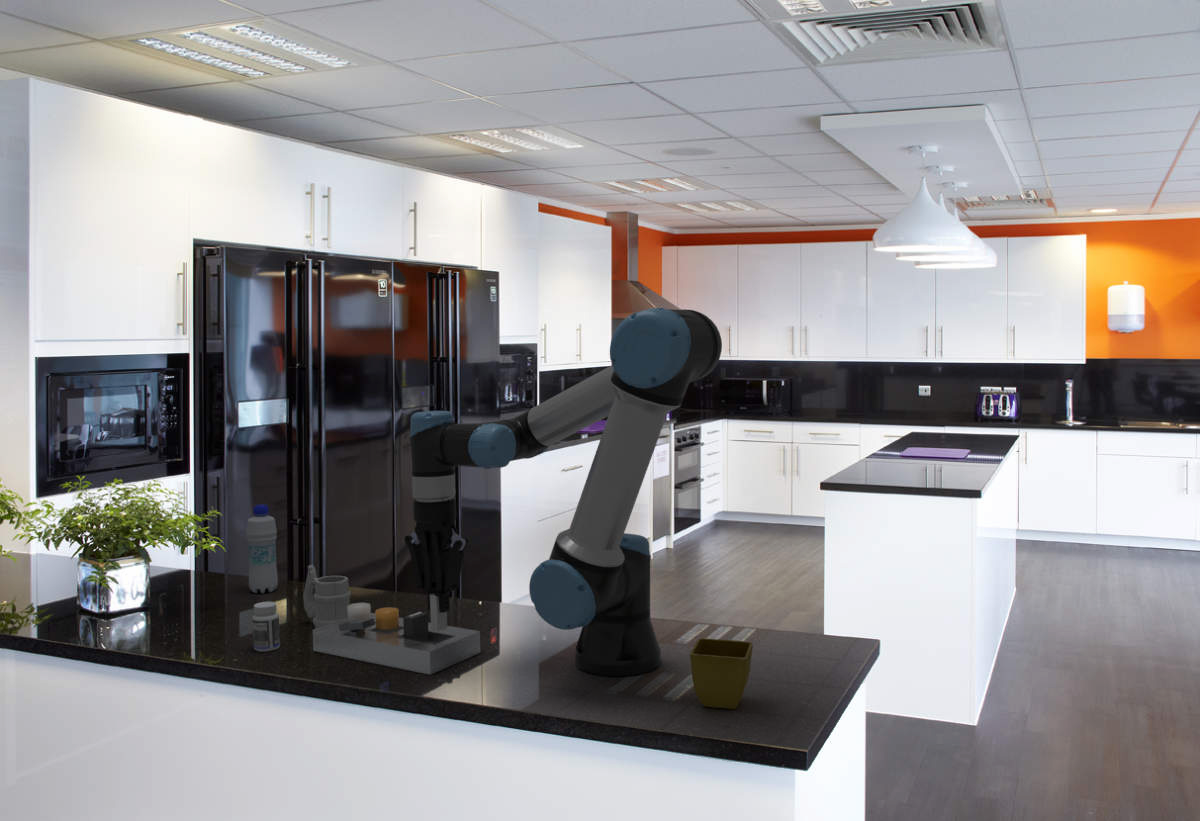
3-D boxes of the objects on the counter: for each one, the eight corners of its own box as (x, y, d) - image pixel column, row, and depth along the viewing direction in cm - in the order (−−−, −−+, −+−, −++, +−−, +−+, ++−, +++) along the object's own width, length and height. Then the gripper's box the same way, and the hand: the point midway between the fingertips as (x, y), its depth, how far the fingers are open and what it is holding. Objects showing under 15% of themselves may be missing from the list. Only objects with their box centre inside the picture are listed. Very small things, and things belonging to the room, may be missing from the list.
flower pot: (753, 696, 167) (753, 641, 166) (747, 715, 158) (746, 657, 158) (698, 692, 169) (698, 637, 168) (689, 711, 161) (689, 654, 160)
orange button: (403, 625, 194) (403, 609, 193) (388, 630, 190) (387, 614, 190) (386, 622, 196) (386, 606, 196) (371, 627, 192) (370, 611, 192)
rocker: (375, 624, 190) (373, 618, 190) (363, 628, 187) (362, 622, 187) (351, 627, 193) (350, 620, 193) (339, 631, 191) (338, 624, 191)
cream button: (375, 620, 197) (375, 604, 197) (359, 625, 194) (359, 609, 193) (359, 617, 199) (358, 601, 199) (343, 622, 196) (342, 606, 196)
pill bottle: (273, 642, 199) (271, 599, 198) (284, 648, 195) (282, 604, 195) (249, 648, 196) (247, 604, 195) (259, 653, 192) (258, 608, 192)
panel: (480, 652, 191) (479, 628, 191) (430, 674, 179) (429, 648, 179) (366, 631, 205) (365, 608, 205) (313, 650, 193) (312, 626, 193)
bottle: (285, 589, 240) (282, 503, 239) (261, 596, 234) (258, 508, 233) (265, 586, 244) (262, 501, 242) (241, 592, 238) (238, 505, 237)
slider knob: (428, 641, 191) (427, 612, 190) (413, 647, 187) (412, 617, 187) (419, 639, 192) (418, 610, 192) (404, 645, 188) (403, 616, 188)
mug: (332, 635, 203) (330, 574, 202) (290, 626, 210) (288, 567, 209) (361, 625, 210) (359, 566, 209) (319, 617, 216) (318, 560, 215)
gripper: (476, 497, 185) (481, 628, 186) (420, 493, 191) (424, 620, 193) (449, 503, 178) (454, 639, 180) (392, 499, 185) (397, 630, 187)
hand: (439, 629), depth 187 cm, fingers closed
